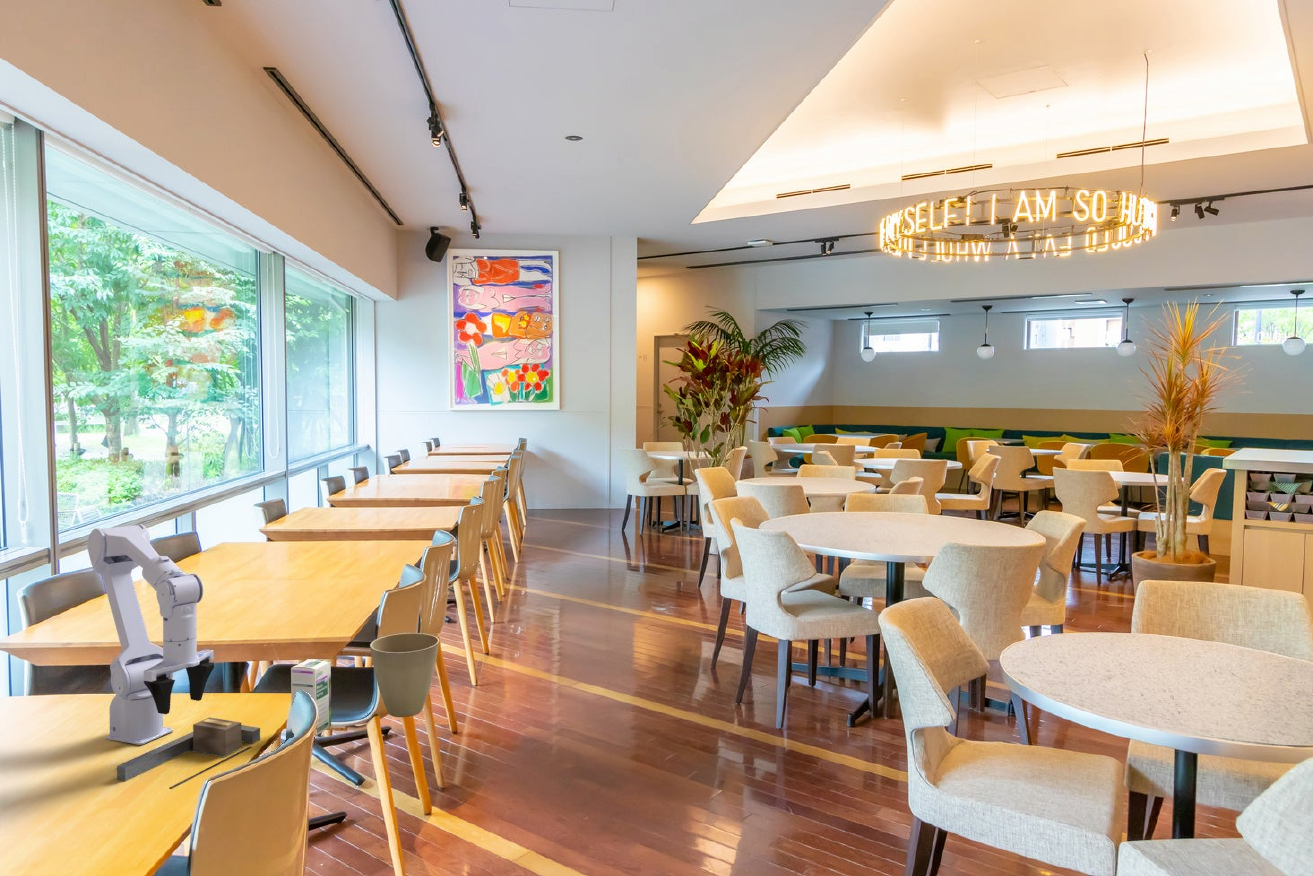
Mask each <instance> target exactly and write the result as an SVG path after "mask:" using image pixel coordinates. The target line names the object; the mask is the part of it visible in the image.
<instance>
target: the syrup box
mask: <svg viewBox="0 0 1313 876" xmlns="http://www.w3.org/2000/svg"><path fill="white" fill-rule="evenodd" d="M331 664H332V663H331V661H330V660H325V659H316V658H315V659H311V658H310V659H309V658H307V659H306V660H304V661H302V662H301V663H298V664H297V665H294V666H292V667H291V668H290V677H291V678H290V681H291V682H290V684H291V685H290V690H291V691H290V692H291V693H290V694H291V697H290V698H291V699H290V702H291V703H290V704H291V706H292V705H293V703H294V699H295V697H296V695H295V694H296V692H299V691H300V690H304V691H305V692H307V693H309V694H310V695H311V697H312V698H313V699H314V700H315V701H316V703H317V705H318V707H319V720H318V727H317V734H316V735H315V738H316V737H317V736H318V735H320V734H322V733H324V732H325V731H326V730H328V729H330V728H331V727H332V683H331V682H332V680H331V679H332V677H331V676H332V674H331V673H332V671H331V669H332V668H331Z"/></svg>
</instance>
